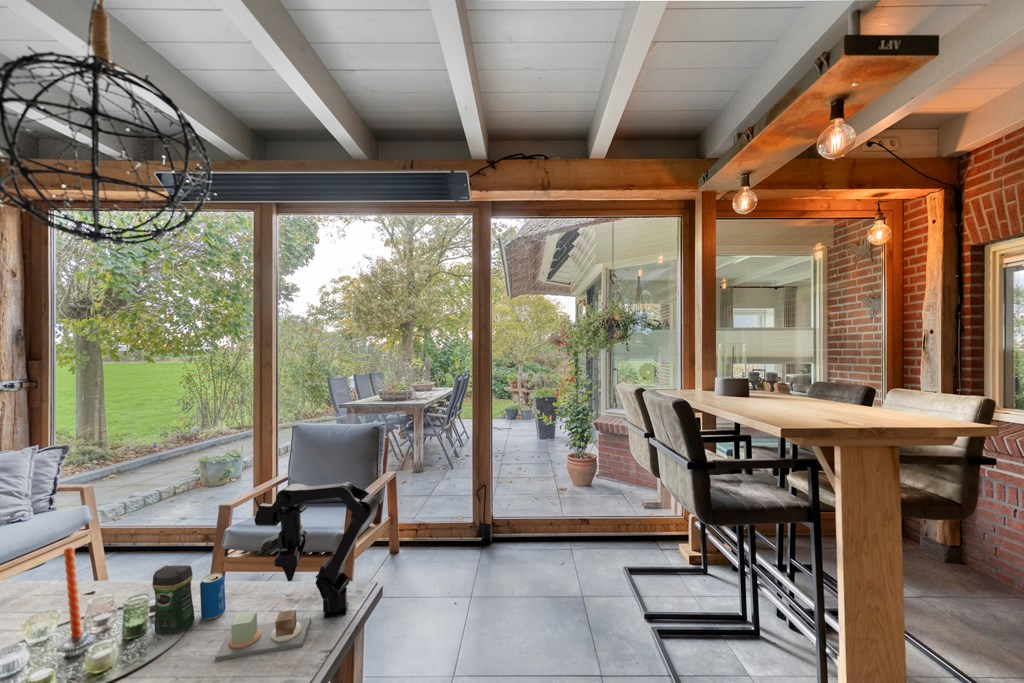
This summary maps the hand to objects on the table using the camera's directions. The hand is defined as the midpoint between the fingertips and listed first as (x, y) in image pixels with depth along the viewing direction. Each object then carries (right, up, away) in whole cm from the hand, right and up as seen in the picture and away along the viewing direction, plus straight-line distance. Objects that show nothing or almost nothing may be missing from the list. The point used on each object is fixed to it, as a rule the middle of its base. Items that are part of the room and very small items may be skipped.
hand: (293, 573), depth 146 cm
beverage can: (-25, -13, -1) cm, 28 cm away
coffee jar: (-33, -13, -7) cm, 36 cm away
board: (-1, -12, -13) cm, 18 cm away
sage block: (-7, -11, -15) cm, 19 cm away
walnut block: (+4, -11, -12) cm, 17 cm away
